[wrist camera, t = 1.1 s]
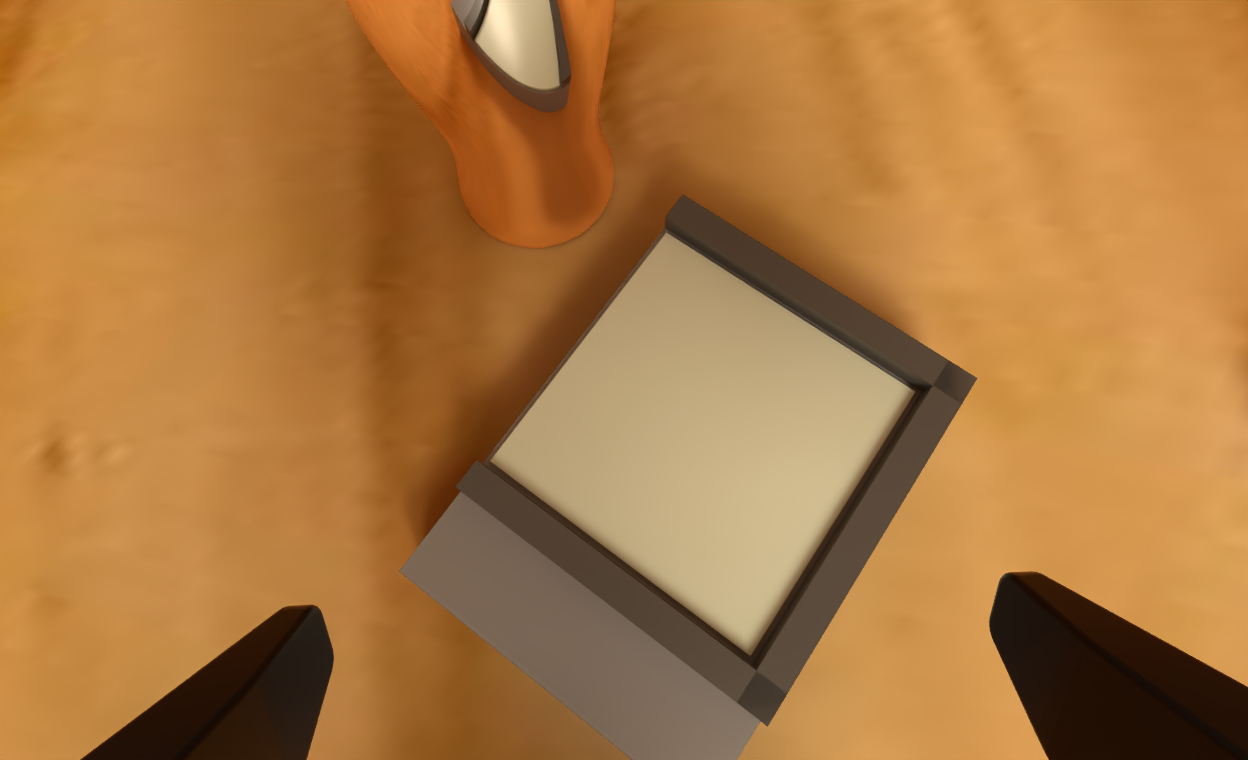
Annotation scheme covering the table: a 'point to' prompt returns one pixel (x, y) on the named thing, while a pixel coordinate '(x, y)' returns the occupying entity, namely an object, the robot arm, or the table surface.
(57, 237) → the table surface
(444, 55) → the beer glass
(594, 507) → the dock
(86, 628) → the table surface
